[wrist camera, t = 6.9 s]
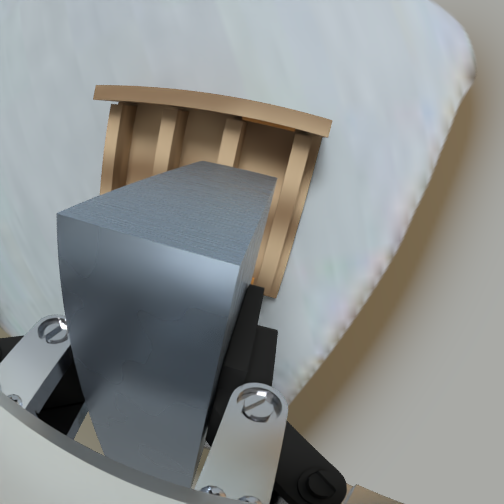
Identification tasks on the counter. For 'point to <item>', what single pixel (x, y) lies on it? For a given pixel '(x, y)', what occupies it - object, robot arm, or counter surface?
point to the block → (159, 305)
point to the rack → (216, 152)
